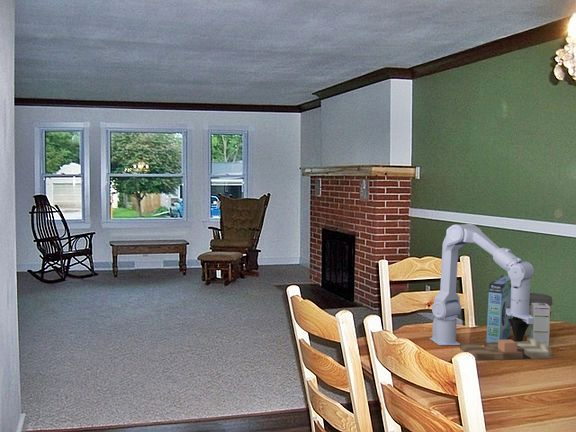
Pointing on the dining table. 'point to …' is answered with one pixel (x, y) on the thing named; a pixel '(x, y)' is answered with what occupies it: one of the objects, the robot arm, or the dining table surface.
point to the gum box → (499, 309)
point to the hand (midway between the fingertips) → (518, 341)
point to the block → (507, 345)
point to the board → (524, 351)
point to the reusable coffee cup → (538, 299)
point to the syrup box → (540, 322)
